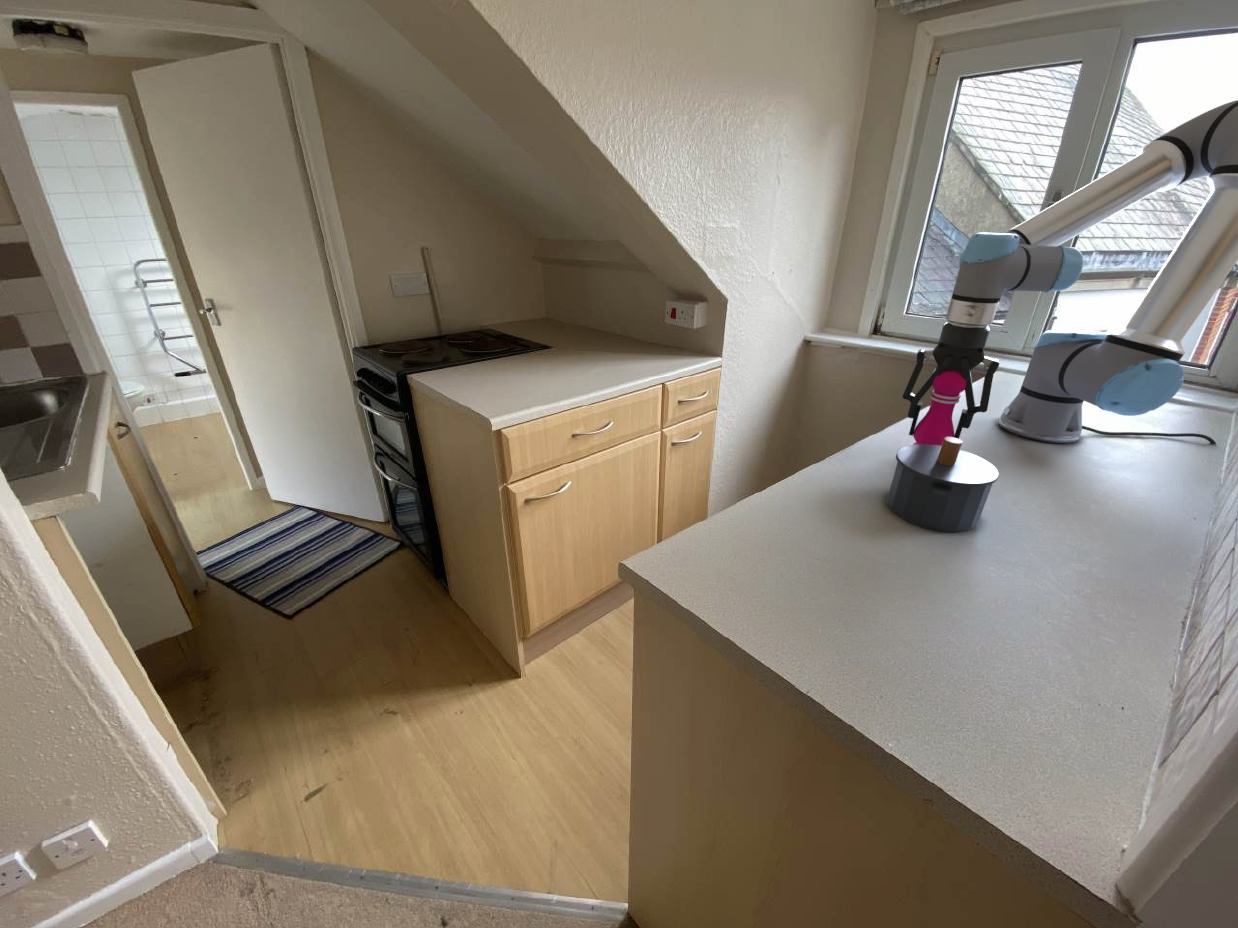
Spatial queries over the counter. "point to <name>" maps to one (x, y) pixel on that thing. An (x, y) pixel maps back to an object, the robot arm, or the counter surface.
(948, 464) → the pot lid
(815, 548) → the counter surface
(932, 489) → the pot
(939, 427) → the pepper mill
